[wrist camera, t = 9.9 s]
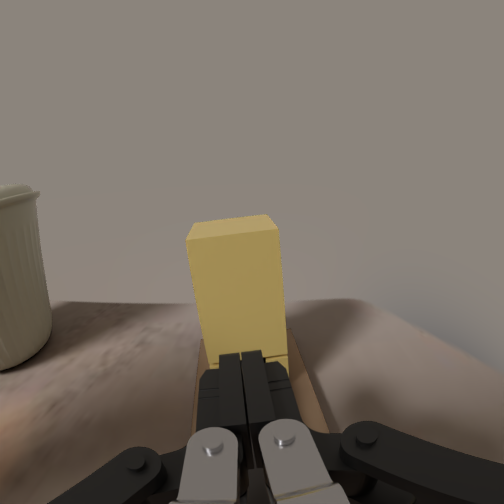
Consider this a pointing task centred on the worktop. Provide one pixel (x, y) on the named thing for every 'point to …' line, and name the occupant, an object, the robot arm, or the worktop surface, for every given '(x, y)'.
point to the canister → (21, 278)
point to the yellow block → (239, 287)
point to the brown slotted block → (303, 397)
